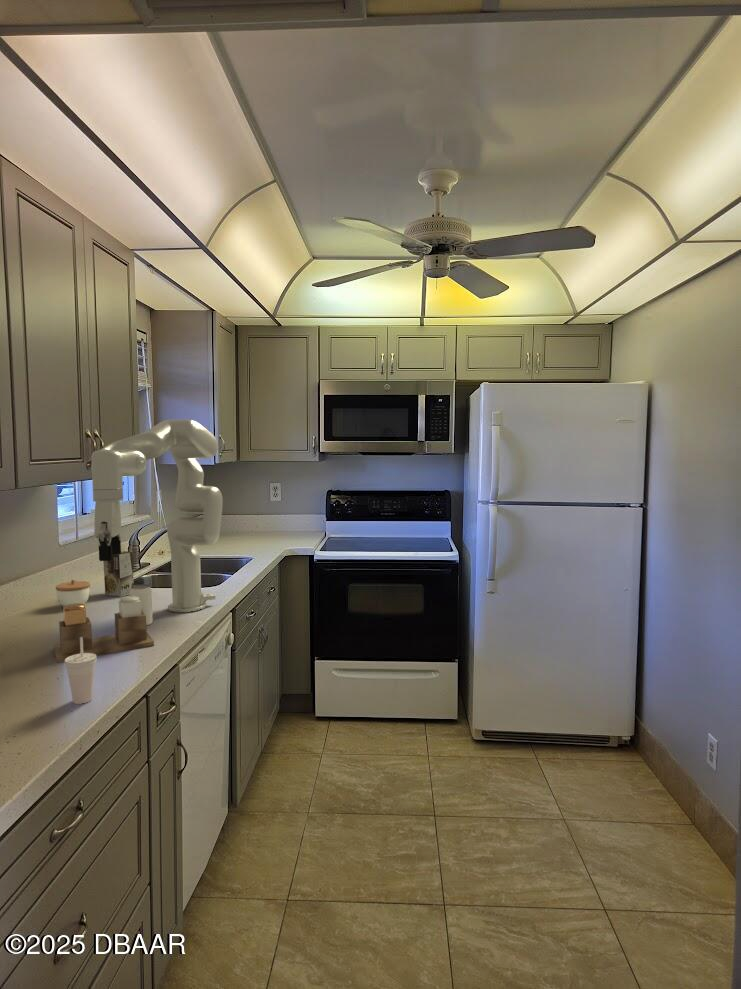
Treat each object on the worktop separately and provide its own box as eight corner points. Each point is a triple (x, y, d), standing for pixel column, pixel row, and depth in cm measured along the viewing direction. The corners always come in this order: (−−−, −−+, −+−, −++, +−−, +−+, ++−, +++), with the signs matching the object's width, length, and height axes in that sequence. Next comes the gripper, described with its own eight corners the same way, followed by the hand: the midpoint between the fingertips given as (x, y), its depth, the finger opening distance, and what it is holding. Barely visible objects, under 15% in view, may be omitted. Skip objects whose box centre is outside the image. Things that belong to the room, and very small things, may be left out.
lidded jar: (95, 606, 205) (93, 580, 204) (61, 612, 198) (60, 585, 197) (85, 600, 213) (84, 575, 212) (53, 606, 206) (51, 579, 205)
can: (145, 619, 189) (144, 583, 188) (156, 623, 185) (155, 586, 184) (126, 624, 184) (125, 586, 183) (137, 628, 180) (135, 590, 179)
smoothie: (104, 694, 131) (101, 634, 130) (88, 707, 125) (85, 643, 124) (76, 694, 132) (73, 633, 131) (59, 706, 126) (56, 643, 124)
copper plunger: (84, 629, 162) (83, 602, 162) (86, 634, 158) (85, 606, 157) (64, 632, 160) (63, 605, 159) (66, 637, 155) (64, 609, 155)
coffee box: (135, 593, 223) (133, 551, 221) (120, 597, 217) (119, 554, 216) (118, 591, 227) (116, 549, 225) (104, 594, 221) (102, 552, 220)
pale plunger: (138, 621, 170) (137, 595, 169) (141, 625, 165) (140, 599, 165) (119, 623, 167) (118, 597, 166) (122, 628, 163) (121, 601, 162)
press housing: (145, 633, 174) (144, 606, 174) (154, 645, 164) (153, 616, 163) (54, 648, 162) (52, 619, 161) (57, 662, 151) (55, 631, 151)
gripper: (102, 493, 168) (104, 552, 169) (83, 498, 151) (86, 563, 152) (129, 493, 169) (131, 551, 171) (114, 497, 152) (117, 562, 154)
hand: (110, 557), depth 162 cm, fingers open, 9 cm apart
